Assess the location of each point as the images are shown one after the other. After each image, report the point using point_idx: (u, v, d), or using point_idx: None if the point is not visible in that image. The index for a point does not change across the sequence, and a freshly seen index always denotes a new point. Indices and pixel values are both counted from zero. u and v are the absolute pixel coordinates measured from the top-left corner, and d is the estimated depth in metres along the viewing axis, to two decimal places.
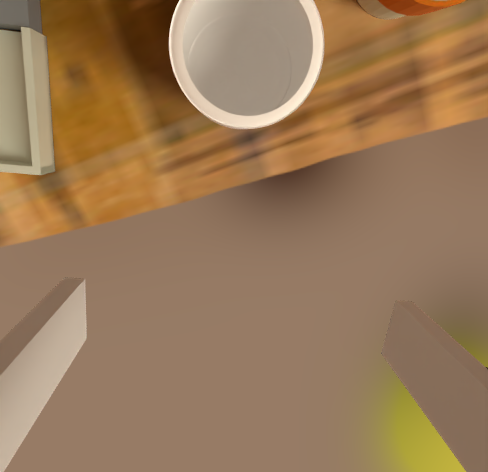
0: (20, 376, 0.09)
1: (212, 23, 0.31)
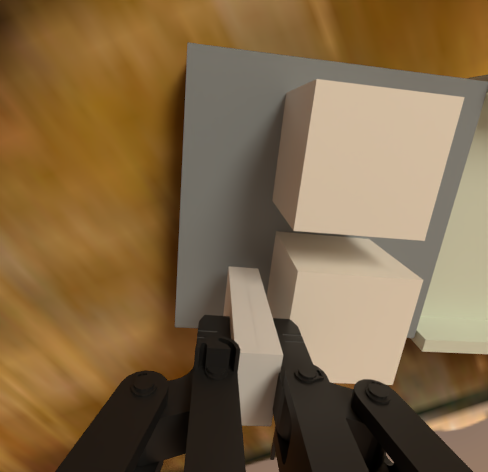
0: None
1: None
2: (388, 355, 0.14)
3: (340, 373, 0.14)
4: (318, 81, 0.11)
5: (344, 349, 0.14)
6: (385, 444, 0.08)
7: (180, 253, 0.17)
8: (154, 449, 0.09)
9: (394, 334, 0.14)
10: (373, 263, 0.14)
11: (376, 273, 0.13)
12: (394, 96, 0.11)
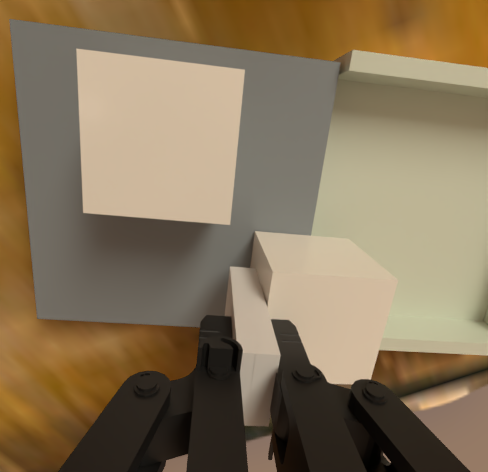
0: None
1: None
2: (365, 355, 0.14)
3: None
4: (79, 51, 0.10)
5: (320, 350, 0.14)
6: (382, 444, 0.08)
7: (32, 241, 0.17)
8: (156, 449, 0.09)
9: (370, 334, 0.14)
10: (350, 263, 0.14)
11: (352, 273, 0.13)
12: (166, 67, 0.10)
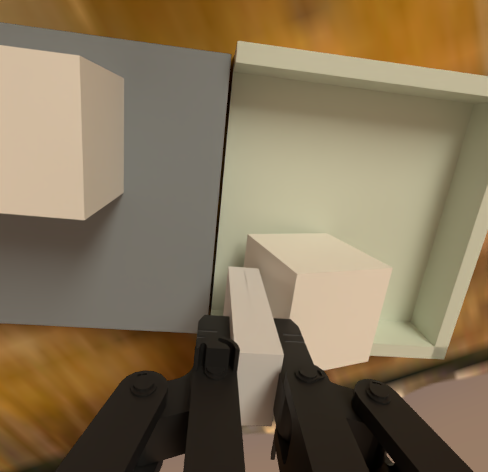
0: None
1: None
2: (366, 336, 0.16)
3: (329, 360, 0.16)
4: None
5: (332, 339, 0.15)
6: (385, 444, 0.08)
7: None
8: (153, 449, 0.08)
9: (370, 317, 0.16)
10: (347, 257, 0.16)
11: (357, 266, 0.15)
12: None
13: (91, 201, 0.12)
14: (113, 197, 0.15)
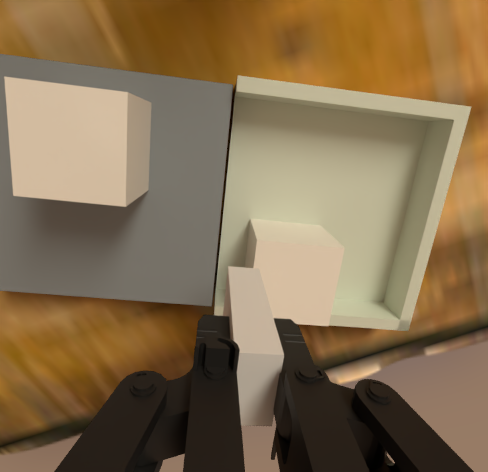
0: None
1: None
2: (324, 303, 0.20)
3: (290, 316, 0.20)
4: (6, 78, 0.14)
5: (292, 298, 0.20)
6: (386, 444, 0.08)
7: None
8: (153, 449, 0.08)
9: (327, 287, 0.20)
10: (314, 238, 0.20)
11: (312, 243, 0.19)
12: (69, 90, 0.14)
13: (129, 193, 0.16)
14: (142, 192, 0.19)
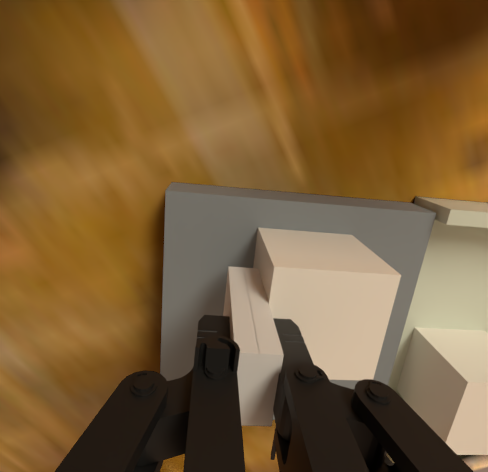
0: None
1: None
2: None
3: (485, 448, 0.19)
4: (276, 268, 0.13)
5: None
6: (385, 444, 0.08)
7: (162, 358, 0.19)
8: (154, 449, 0.09)
9: None
10: None
11: None
12: (340, 276, 0.13)
13: None
14: None
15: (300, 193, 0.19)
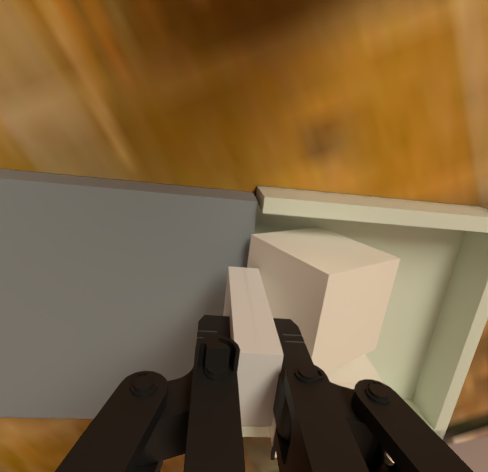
0: None
1: None
2: None
3: None
4: (330, 276, 0.13)
5: None
6: (385, 444, 0.08)
7: None
8: (154, 449, 0.09)
9: None
10: (347, 364, 0.18)
11: (348, 378, 0.17)
12: (368, 269, 0.14)
13: None
14: None
15: (130, 181, 0.18)
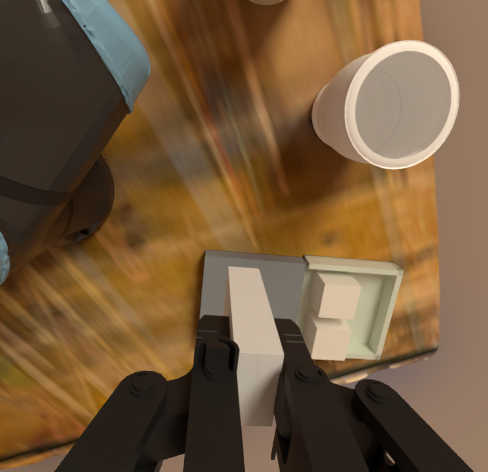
0: None
1: (324, 134, 0.39)
2: (343, 351, 0.48)
3: (328, 356, 0.48)
4: (325, 284, 0.45)
5: (330, 349, 0.48)
6: (386, 444, 0.08)
7: None
8: (153, 449, 0.09)
9: (344, 345, 0.48)
10: (338, 324, 0.48)
11: (338, 328, 0.47)
12: (343, 286, 0.45)
13: None
14: None
15: None
